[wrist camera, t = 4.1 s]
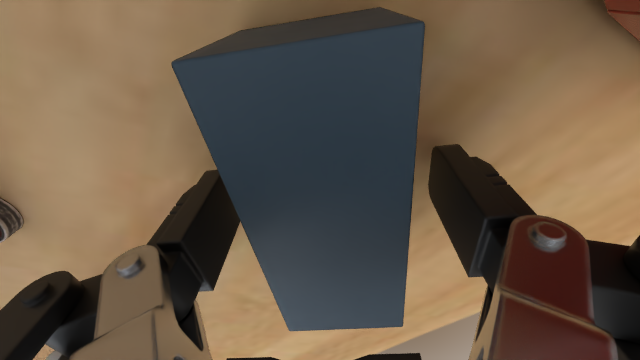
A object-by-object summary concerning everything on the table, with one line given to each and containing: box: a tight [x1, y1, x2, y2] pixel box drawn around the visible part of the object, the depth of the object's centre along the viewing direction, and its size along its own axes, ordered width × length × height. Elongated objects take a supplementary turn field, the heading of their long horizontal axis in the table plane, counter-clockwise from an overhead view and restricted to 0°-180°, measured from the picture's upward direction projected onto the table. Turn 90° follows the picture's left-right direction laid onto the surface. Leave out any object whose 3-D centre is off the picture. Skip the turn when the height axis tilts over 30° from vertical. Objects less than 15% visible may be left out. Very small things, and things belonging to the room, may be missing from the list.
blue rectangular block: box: [171, 7, 425, 331], centre depth 9 cm, size 10×4×4 cm, turn 8°
